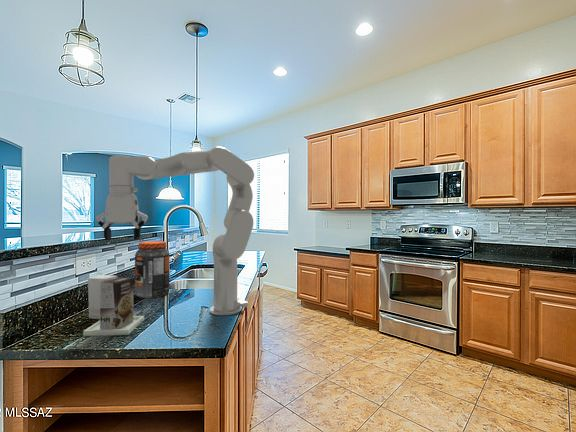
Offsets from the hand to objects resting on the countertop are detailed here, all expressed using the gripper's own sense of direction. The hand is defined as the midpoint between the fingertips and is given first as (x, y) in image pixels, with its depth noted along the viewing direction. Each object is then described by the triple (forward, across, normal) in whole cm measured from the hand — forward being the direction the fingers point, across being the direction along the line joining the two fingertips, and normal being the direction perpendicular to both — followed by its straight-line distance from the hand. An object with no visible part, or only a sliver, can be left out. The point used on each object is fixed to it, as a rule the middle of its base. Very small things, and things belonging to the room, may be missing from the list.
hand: (122, 239), depth 109 cm
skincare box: (+31, +12, -10) cm, 35 cm away
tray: (+31, +2, +2) cm, 31 cm away
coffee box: (+30, +2, +2) cm, 30 cm away
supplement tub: (+31, +4, -43) cm, 54 cm away
